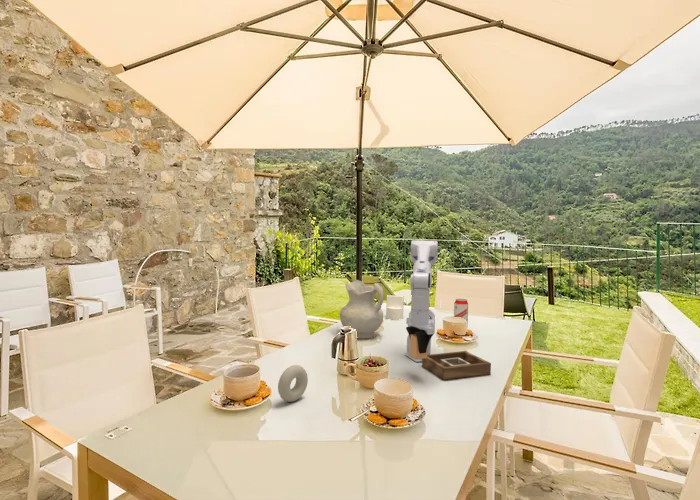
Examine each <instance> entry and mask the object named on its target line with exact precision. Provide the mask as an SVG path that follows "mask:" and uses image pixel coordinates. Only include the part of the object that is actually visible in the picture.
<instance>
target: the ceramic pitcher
mask: <svg viewBox="0 0 700 500" xmlns="http://www.w3.org/2000/svg"><path fill="white" fill-rule="evenodd" d="M344 284H345V289H346V292H347V293H348V297H349V298H348V299H349V300H348V303H346V304H345V305H344V306H343V307H342V308H341V309H340V311H339V319H340V322H341V323H340V324H341V325H342V327H344V326H351V327H352V328H354V329H356V331H357V337H358V338H357V339H363V340H364V339H365V340H369V339H373V338H375V334H374V332H376V331H378V330H379V328H380V327H381V325H382V324H383V322H384V311H383V309H382V305H383V303H384V290H383V285H382V284H381V282H374V283H373V284H374V286H373V285H366V284H365V282H364V281H361V280H359V279H354V280H352V281H351V282H350V283H348V282H347V281H346V282H345V283H344ZM377 293H378V301H377V303H376V302H375V297H376V294H377Z"/></svg>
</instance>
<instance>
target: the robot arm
mask: <svg viewBox="0 0 700 500" xmlns="http://www.w3.org/2000/svg"><path fill="white" fill-rule="evenodd" d="M438 247H439V245H438V241H437V240H420V239H419V240H416V239H412V240H411V242H410V257H411V259H410V260H411V262H412V264H413V267H412V268H413V269H412V270H413V272H412V273H411V275H410V283H409V286H410V296H411V305H410V306H411V307H410V312H409V313H408V317H406V319H405V320H406V321H405V322H406V325H407V326H406V328H405V330H406V332H407V334H408V335H407V338H406V352H405V353H404V356H406V357H408V358H409V359H411V360H412V361H414V362H415V363H422V359H415V358H413V357H412V356H410V340H411V334H416V336H417V340H418V350H419V353H426V350H427V355H431V352H432V351H431V348H432V337H434V334H435V333H436V331H435V330H436V315H435V312H433V311H432V310H431V309H430V298H431V297H430V295H431V293H430V291H431V289H432V279H433V278H432V272H431V271H432V270H431V269H432V266H433V265H436V263H437V260H438Z"/></svg>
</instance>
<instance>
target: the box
mask: <svg viewBox="0 0 700 500" xmlns="http://www.w3.org/2000/svg"><path fill="white" fill-rule="evenodd" d="M421 367H422V368H423V369H425V370H427V371H428V372H429V373H431V374H433V375H434V376H436V377H437V378H439V379H441V380H442V381H444V382H446V381H447V382H448V381H454V380H455V381H456V380H461V379H462V380H463V379H469V378H477V377H478V378H479V377H485V376H491V374H492V371H491V370H492V362H489V361H487V360H485V359H483V358H482V357H480V356H478V355H475V354H472V353H471V352H469V351H466V350H463V351H452V352H443V353H442V352H441V353H434V354H430V355H427V358H424V359H422V362H421Z"/></svg>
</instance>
